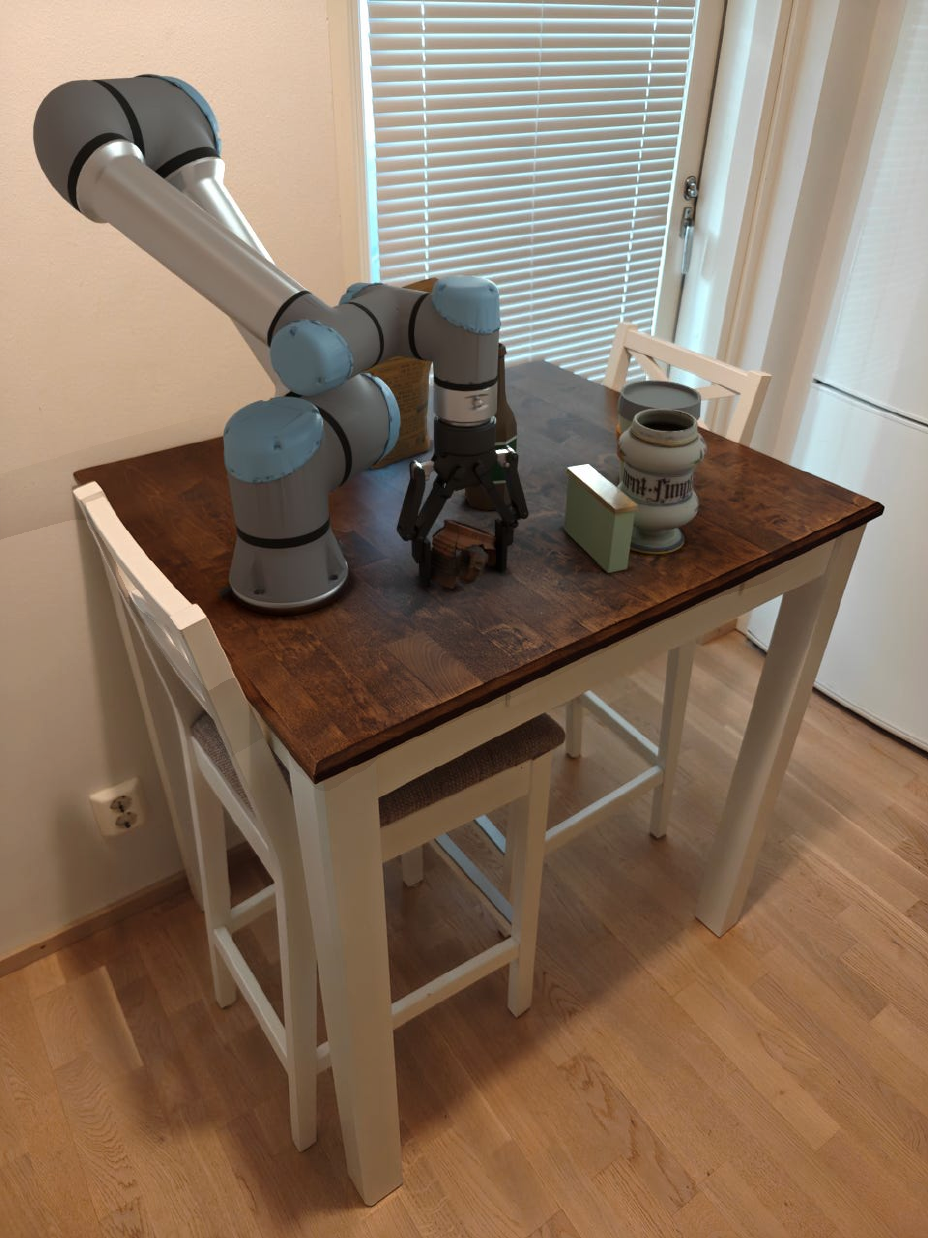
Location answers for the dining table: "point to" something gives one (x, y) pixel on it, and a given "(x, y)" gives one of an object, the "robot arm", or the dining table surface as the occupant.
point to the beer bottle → (498, 441)
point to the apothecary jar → (661, 476)
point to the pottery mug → (472, 553)
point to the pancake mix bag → (408, 396)
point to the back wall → (599, 517)
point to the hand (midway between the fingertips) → (462, 573)
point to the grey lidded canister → (653, 403)
